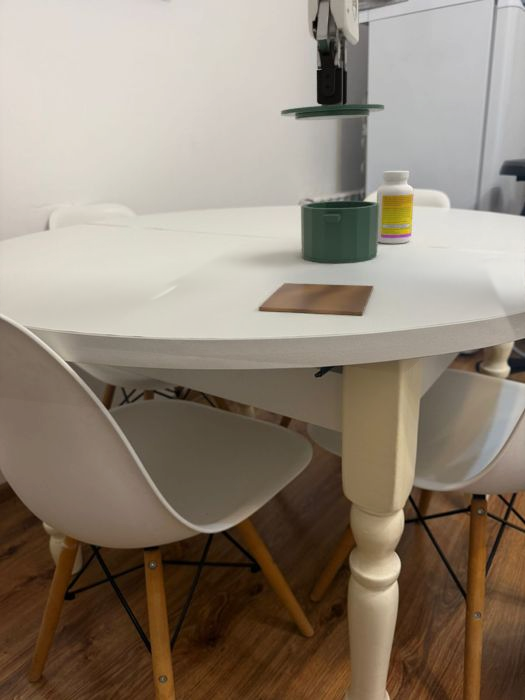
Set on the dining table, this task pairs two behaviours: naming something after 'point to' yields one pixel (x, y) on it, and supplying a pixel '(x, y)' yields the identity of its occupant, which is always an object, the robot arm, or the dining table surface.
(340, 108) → the pot lid
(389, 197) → the supplement bottle
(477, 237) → the dining table surface
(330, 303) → the plate
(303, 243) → the pot
